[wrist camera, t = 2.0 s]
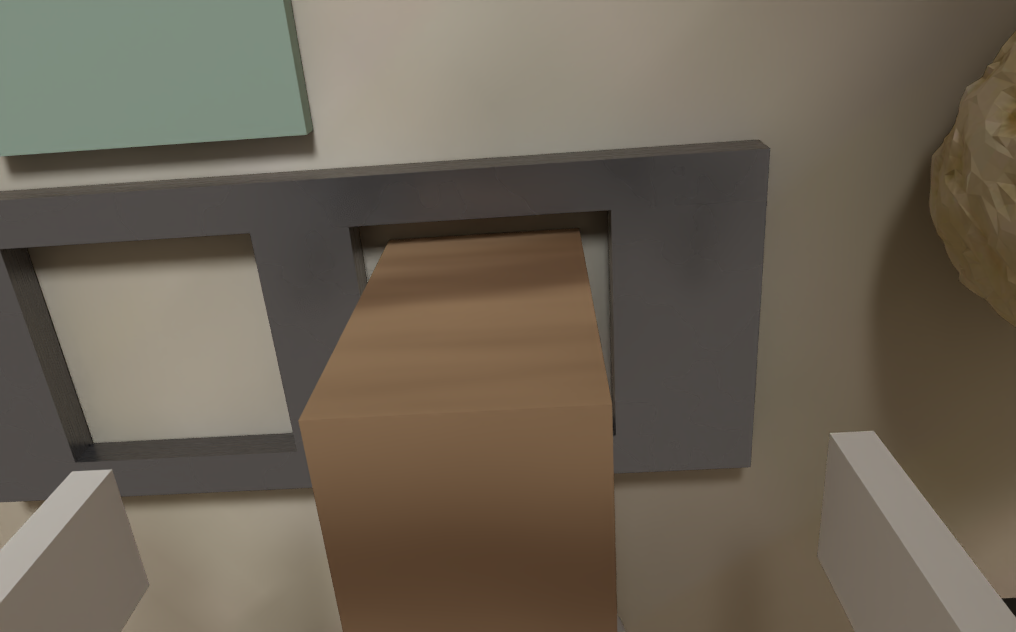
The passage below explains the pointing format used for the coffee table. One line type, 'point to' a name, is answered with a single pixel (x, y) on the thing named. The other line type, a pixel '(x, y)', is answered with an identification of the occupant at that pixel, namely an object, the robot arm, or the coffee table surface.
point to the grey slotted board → (342, 279)
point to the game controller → (620, 625)
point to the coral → (981, 186)
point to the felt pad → (147, 73)
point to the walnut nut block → (468, 442)
